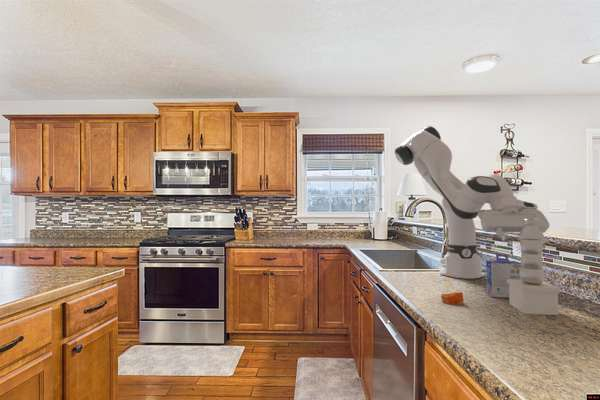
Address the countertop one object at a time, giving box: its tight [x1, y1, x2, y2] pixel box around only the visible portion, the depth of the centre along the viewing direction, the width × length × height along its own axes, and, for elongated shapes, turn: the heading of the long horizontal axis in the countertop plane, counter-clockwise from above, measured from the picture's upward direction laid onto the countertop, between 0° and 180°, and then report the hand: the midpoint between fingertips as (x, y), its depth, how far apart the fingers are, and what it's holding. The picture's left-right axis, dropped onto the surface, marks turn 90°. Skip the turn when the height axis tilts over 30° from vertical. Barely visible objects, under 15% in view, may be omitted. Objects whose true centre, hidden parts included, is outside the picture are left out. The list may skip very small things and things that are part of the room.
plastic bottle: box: [518, 219, 546, 284], centre depth 97 cm, size 6×7×20 cm
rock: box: [440, 291, 464, 306], centre depth 105 cm, size 12×12×4 cm
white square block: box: [507, 279, 562, 316], centre depth 97 cm, size 10×10×8 cm
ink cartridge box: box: [485, 253, 521, 299], centre depth 111 cm, size 10×6×14 cm, turn 78°
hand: (521, 240), depth 103 cm, fingers open, 8 cm apart
